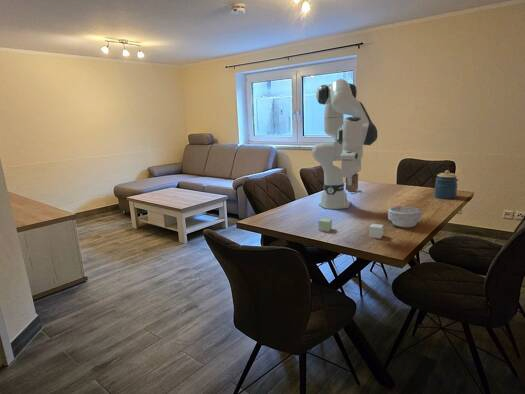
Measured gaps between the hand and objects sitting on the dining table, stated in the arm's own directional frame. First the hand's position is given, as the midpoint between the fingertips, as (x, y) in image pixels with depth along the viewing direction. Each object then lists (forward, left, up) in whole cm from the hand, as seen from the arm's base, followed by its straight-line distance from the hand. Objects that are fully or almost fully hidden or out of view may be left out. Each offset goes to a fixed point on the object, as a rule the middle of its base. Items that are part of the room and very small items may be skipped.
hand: (351, 183), depth 154 cm
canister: (-91, +37, -23) cm, 101 cm away
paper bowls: (-20, +21, -23) cm, 37 cm away
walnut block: (0, 0, -3) cm, 3 cm away
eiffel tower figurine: (-88, -23, -24) cm, 94 cm away
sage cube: (+2, -12, -23) cm, 26 cm away
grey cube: (+2, +12, -23) cm, 26 cm away
